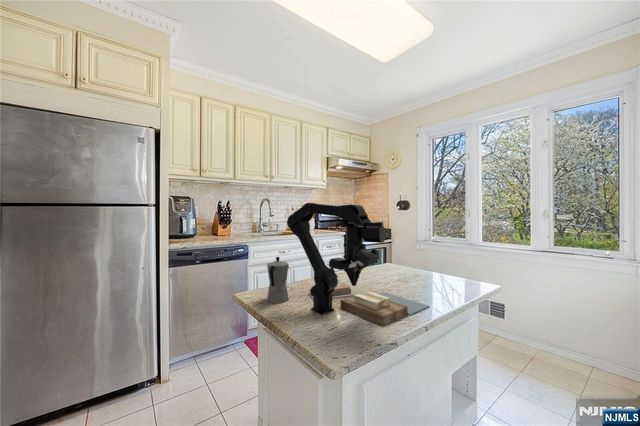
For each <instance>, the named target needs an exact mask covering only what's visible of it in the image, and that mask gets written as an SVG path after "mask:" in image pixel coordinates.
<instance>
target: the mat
mask: <svg viewBox="0 0 640 426" xmlns="http://www.w3.org/2000/svg"><path fill="white" fill-rule="evenodd" d="M377 294H379V295H382V296H385V297H388V298H390V301H392V302H395V303H398V304H401V305H404V306H407V307H408V315H407V316H410V317H411V316H413V315H415V314H417V313H421V311H424V310H426V309H428V308H430V305H428V304H425V303H421V302H418V301H415V300H412V299H408V298H405V297H401V296H397V295H395V294H391V293H388V292H385V291H382V292H379V293H378V292H377Z"/></svg>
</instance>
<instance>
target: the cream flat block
mask: <svg viewBox="0 0 640 426" xmlns="http://www.w3.org/2000/svg"><path fill="white" fill-rule="evenodd" d="M354 296H355V302H356V303H358V304H361V305H364V306H366V307H369V308H372V309H374V310H378V309H380V308H383V307H386V306H388V305H390V298H388V297H385V296H382V295H379V294H378V293H375V292H372V291H365V292H363V293H362V292H361V293H358V294H356V295H354Z"/></svg>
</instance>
